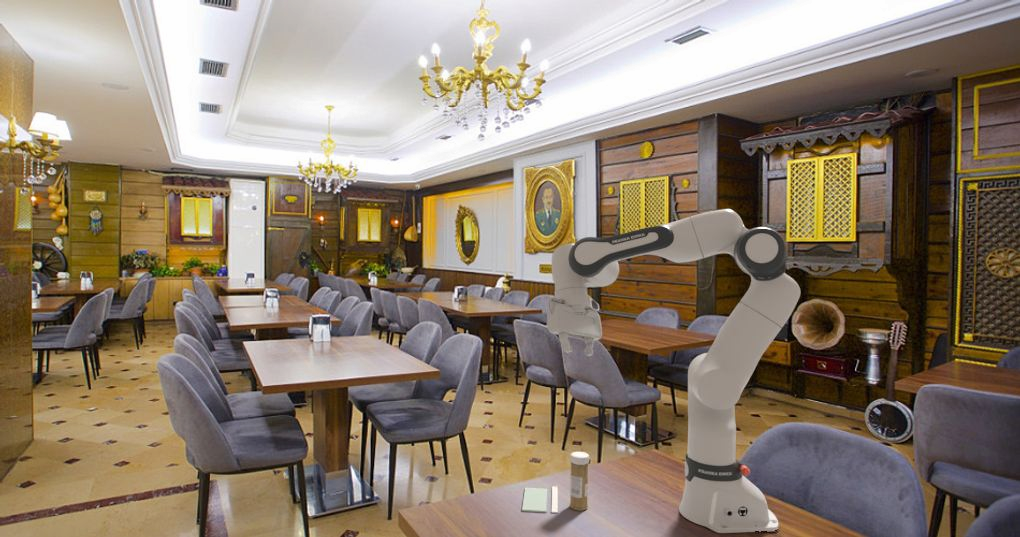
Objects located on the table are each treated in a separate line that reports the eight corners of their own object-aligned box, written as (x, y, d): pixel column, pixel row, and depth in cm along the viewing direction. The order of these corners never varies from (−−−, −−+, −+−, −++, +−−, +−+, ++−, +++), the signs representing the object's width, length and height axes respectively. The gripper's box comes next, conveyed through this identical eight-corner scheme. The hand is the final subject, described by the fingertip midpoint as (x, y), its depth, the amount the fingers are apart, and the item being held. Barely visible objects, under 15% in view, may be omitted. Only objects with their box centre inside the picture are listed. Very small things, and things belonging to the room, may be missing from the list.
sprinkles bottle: (591, 508, 138) (592, 455, 138) (577, 513, 136) (578, 458, 135) (579, 501, 142) (580, 449, 142) (565, 505, 140) (566, 453, 139)
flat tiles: (557, 487, 150) (557, 486, 150) (557, 513, 135) (557, 511, 135) (525, 485, 151) (525, 484, 151) (522, 511, 136) (522, 509, 136)
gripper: (557, 293, 139) (564, 347, 134) (602, 305, 154) (610, 354, 149) (538, 299, 143) (544, 352, 138) (583, 311, 158) (590, 359, 153)
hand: (578, 353), depth 144 cm, fingers open, 8 cm apart
